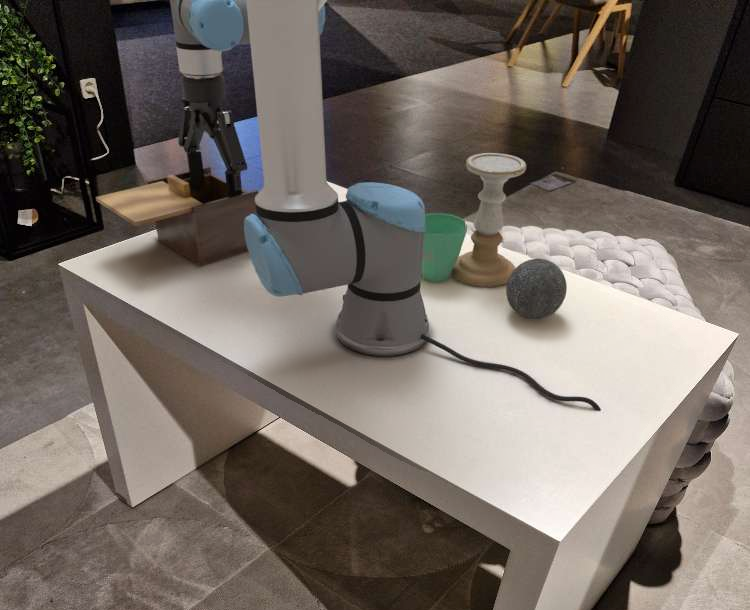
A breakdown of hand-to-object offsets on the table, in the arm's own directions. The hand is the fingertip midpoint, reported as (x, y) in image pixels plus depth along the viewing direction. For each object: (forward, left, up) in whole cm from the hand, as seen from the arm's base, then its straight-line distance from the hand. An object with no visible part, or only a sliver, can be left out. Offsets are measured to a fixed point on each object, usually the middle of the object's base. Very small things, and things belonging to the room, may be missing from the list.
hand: (216, 197), depth 144 cm
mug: (-37, -22, -9) cm, 44 cm away
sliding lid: (0, +14, +2) cm, 14 cm away
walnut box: (0, +3, -8) cm, 9 cm away
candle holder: (-44, -30, -9) cm, 54 cm away
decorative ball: (-61, -24, -9) cm, 66 cm away
